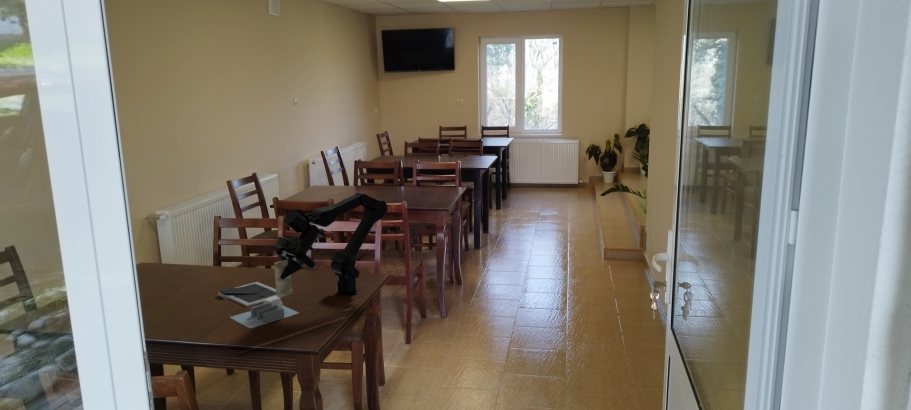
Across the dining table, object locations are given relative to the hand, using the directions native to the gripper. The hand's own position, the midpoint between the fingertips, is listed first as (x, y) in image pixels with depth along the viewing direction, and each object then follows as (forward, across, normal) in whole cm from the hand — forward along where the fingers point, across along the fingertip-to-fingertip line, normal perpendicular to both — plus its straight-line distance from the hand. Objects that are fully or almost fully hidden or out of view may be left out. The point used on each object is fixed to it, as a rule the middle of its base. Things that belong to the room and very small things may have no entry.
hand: (279, 278), depth 205 cm
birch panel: (+4, 0, +6) cm, 7 cm away
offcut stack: (+8, -5, +8) cm, 12 cm away
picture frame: (+9, -22, +10) cm, 26 cm away
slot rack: (+13, 0, +4) cm, 14 cm away
